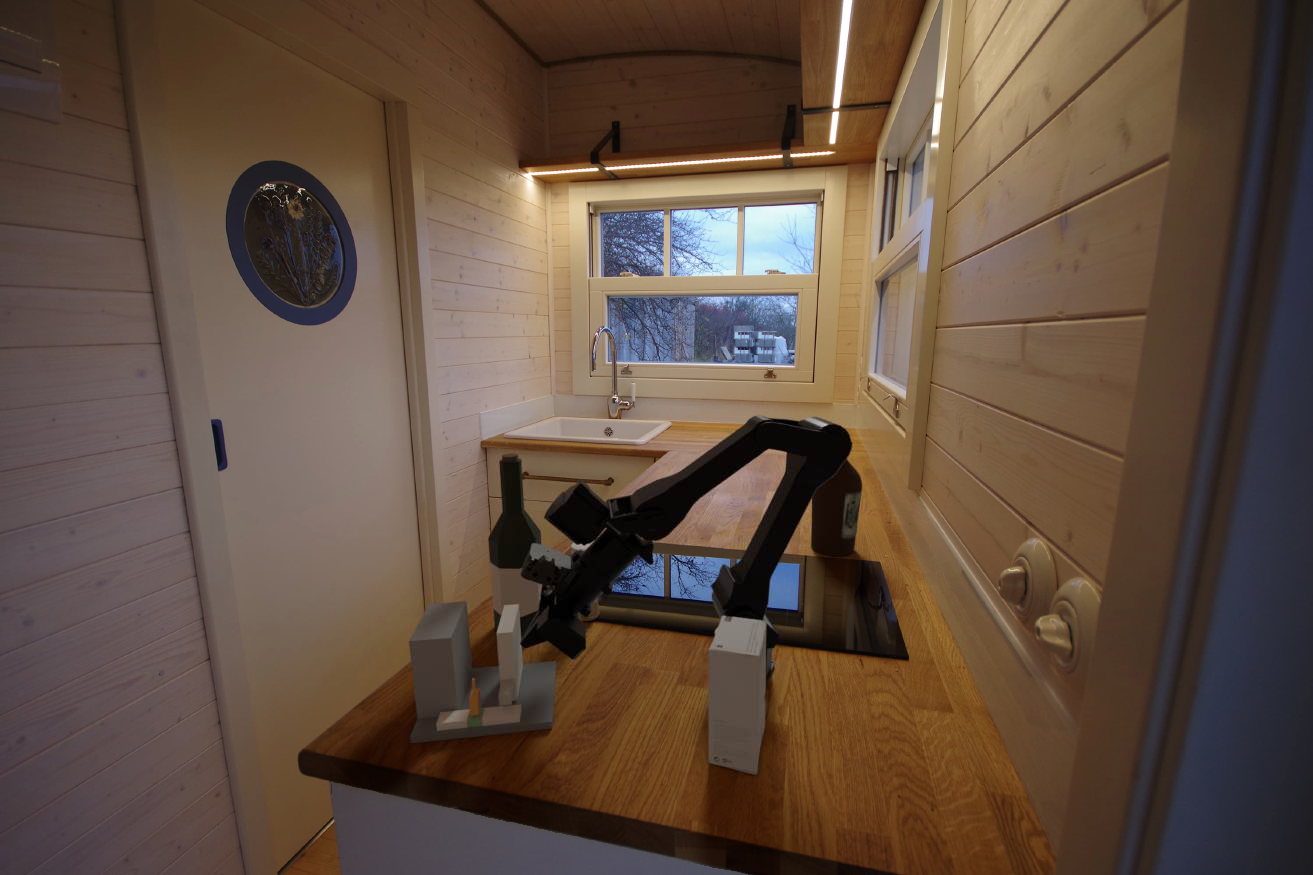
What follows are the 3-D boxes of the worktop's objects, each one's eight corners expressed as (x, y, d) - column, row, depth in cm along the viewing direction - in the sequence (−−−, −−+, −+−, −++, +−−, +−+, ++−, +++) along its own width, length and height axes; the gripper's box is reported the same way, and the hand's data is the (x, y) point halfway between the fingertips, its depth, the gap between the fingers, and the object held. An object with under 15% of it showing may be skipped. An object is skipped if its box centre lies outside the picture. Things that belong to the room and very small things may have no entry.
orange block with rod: (481, 704, 67) (478, 674, 66) (478, 714, 66) (476, 683, 65) (473, 705, 67) (470, 674, 66) (470, 715, 65) (467, 684, 65)
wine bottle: (555, 620, 92) (547, 452, 85) (524, 645, 84) (513, 464, 78) (517, 609, 95) (506, 447, 89) (484, 633, 88) (470, 458, 81)
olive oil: (799, 548, 121) (805, 441, 115) (822, 535, 128) (829, 434, 123) (843, 562, 113) (851, 449, 108) (865, 548, 120) (874, 441, 115)
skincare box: (757, 777, 59) (762, 659, 56) (704, 764, 61) (706, 649, 58) (765, 724, 67) (770, 618, 64) (718, 714, 69) (721, 611, 66)
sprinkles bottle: (590, 605, 96) (588, 536, 93) (604, 616, 93) (602, 544, 90) (568, 614, 93) (565, 543, 90) (582, 625, 90) (579, 551, 87)
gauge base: (556, 666, 79) (553, 593, 76) (552, 728, 67) (547, 643, 64) (437, 677, 77) (430, 602, 74) (410, 743, 64) (400, 655, 62)
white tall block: (522, 666, 76) (518, 604, 74) (514, 716, 67) (509, 645, 65) (508, 668, 76) (504, 605, 74) (498, 717, 67) (492, 647, 64)
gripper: (559, 503, 78) (488, 578, 79) (552, 557, 60) (460, 652, 61) (613, 549, 81) (544, 621, 82) (623, 613, 63) (534, 704, 64)
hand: (522, 644), depth 72 cm, fingers closed
